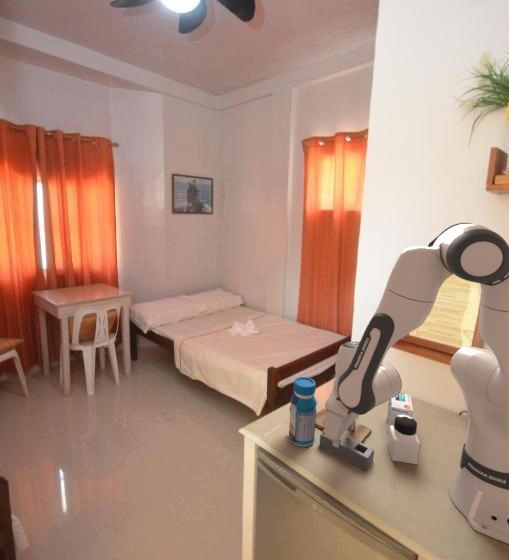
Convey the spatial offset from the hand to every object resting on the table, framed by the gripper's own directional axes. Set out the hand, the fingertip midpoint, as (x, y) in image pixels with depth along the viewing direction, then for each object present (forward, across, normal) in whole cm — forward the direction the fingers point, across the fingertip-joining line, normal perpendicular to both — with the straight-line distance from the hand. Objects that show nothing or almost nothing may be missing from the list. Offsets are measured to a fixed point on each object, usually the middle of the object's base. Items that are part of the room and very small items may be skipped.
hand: (342, 437), depth 98 cm
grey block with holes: (+6, -2, +1) cm, 6 cm away
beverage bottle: (+6, +1, -13) cm, 14 cm away
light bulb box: (+5, -24, +10) cm, 27 cm away
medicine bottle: (+6, -12, +14) cm, 19 cm away
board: (+6, -12, -6) cm, 14 cm away
